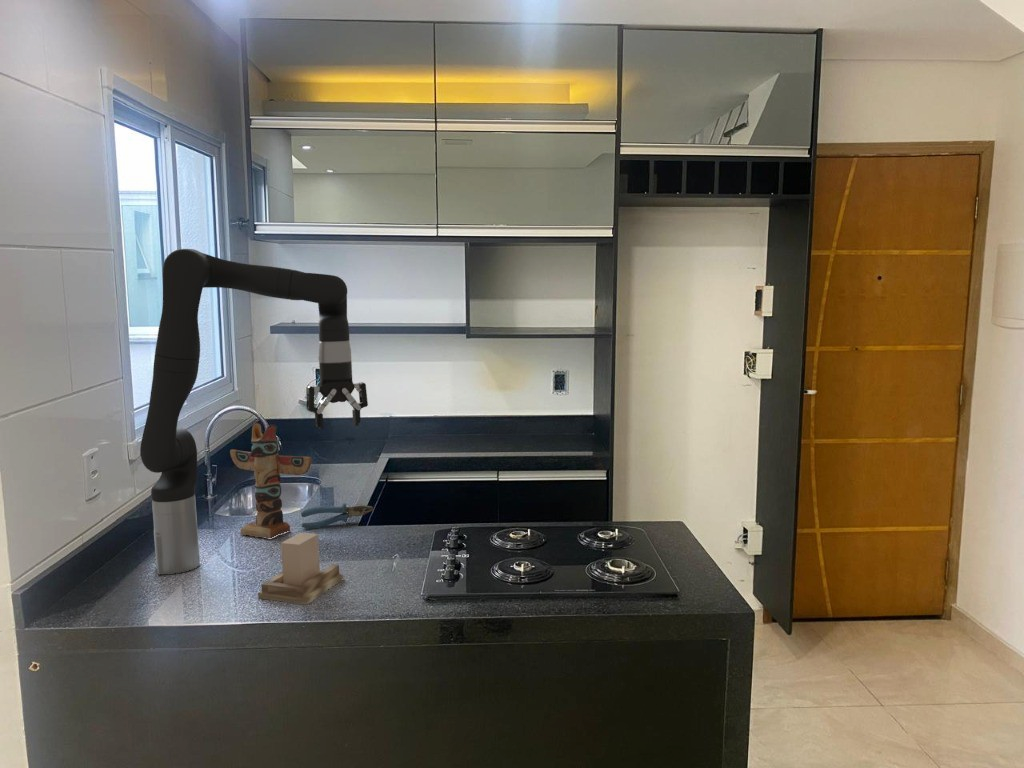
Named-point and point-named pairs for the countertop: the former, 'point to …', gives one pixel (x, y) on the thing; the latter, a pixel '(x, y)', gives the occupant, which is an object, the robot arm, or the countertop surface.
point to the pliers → (352, 511)
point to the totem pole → (268, 480)
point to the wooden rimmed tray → (300, 587)
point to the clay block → (300, 558)
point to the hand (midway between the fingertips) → (338, 427)
